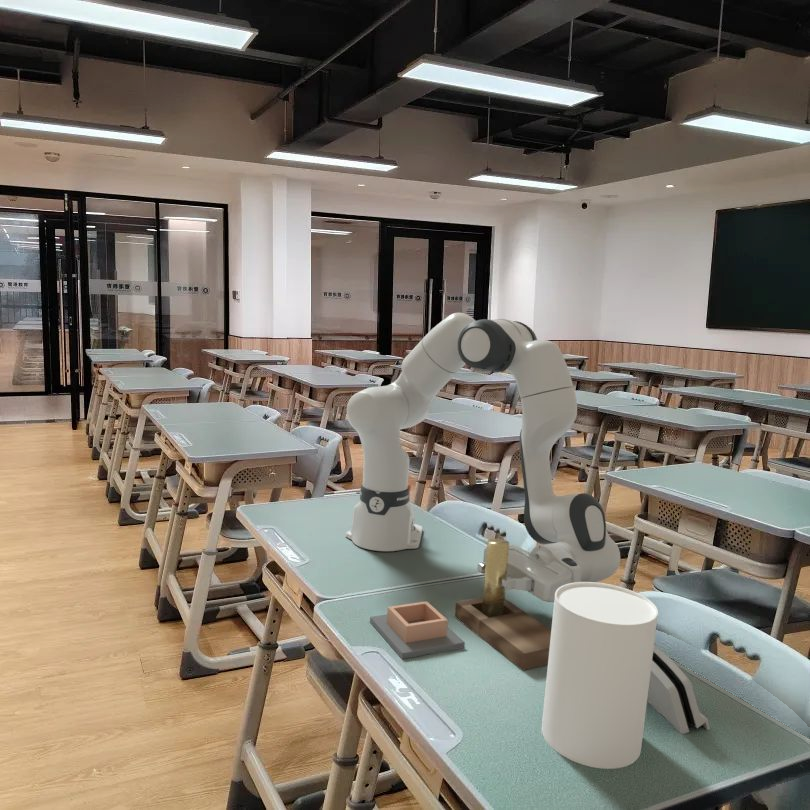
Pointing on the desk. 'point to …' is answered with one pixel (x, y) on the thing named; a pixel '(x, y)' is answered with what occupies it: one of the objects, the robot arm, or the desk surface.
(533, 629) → the wooden block with recess
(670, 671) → the white slotted casing
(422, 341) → the robot arm
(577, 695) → the canister
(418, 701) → the desk surface
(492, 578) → the axle
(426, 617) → the stand
